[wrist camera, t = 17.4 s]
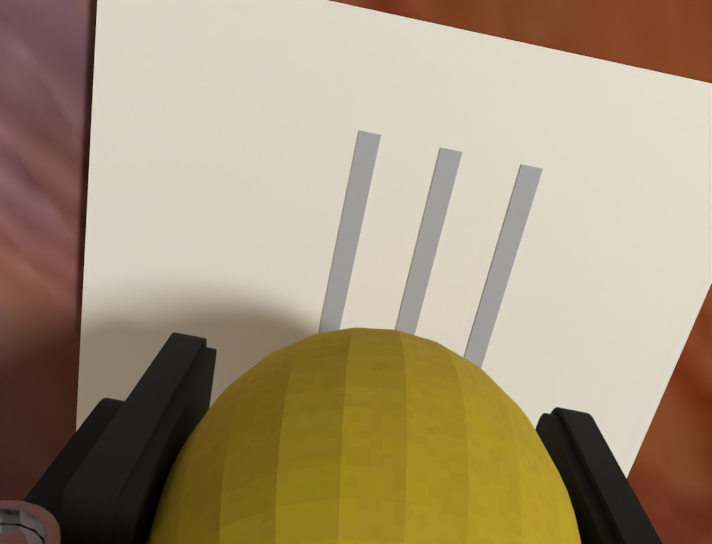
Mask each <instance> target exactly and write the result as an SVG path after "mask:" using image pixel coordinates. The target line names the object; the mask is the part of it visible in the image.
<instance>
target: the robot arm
mask: <svg viewBox="0 0 712 544" xmlns="http://www.w3.org/2000/svg"><path fill="white" fill-rule="evenodd" d="M216 355H217V350H216V349H214V348H209V347H207V340H206V338H202V337H197V336H191V335H186V334H181V333H176V332H173V333H172V334H171V335H170V337H169V338H168V340H167V341H166V343H165V344H164V346H163V347H162V348H161V350H160V351H159V353H158V354H157V356H156V357H155V358H154V360H153V361H152V363H151V364H150V366H149V367H148V369H147V370H146V371H145V373H144V374H143V376H142V377H141V379H140V380H139V382H138V383H137V384H136V386H135V387H134V389H133V390H132V392H131V393H130V394H129V396H128V397H127V399H126V400H125V401H122V400H117V399H111V398H104V399H102V400H101V401H100V402H99V403H98V404H97V405H96V406H95V408H94V409H93V410H92V412H91V413H90V414H89V416H88V417H87V418H86V420H85V421H84V422H83V423H82V425H81V426H80V427H79V429H78V430H77V431H76V433H75V434H74V435H73V437H72V438H71V439H70V440H69V442H68V443H67V444H66V446H65V447H64V448H63V450H62V451H61V452H60V454H59V455H58V456H57V458H56V459H55V460H54V461H53V463H52V464H51V465H50V467H49V468H48V469H47V471H46V472H45V473H44V475H43V476H42V477H41V478H40V480H39V481H38V482H37V484H36V485H35V486H34V488H33V489H32V490H31V492H30V493H29V494H28V496H27V497H26V498H25V499H24V501H14V500H1V501H0V544H145V543H146V540H147V537H148V533H149V530H150V527H151V524H152V520H153V517H154V514H155V511H156V508H157V505H158V502H159V499H160V496H161V493H162V490H163V487H164V484H165V482H166V479H167V477H168V474H169V472H170V469H171V467H172V465H173V463H174V461H175V459H176V457H177V455H178V453H179V451H180V450H181V448H182V446H183V445H184V443H185V442H186V440H187V439H188V438H189V436H190V435H191V433H192V432H193V430H194V429H195V428H196V426H197V425H198V424H199V422H200V421H201V420H202V418H203V417H204V416H205V414H206V413H207V411H208V410H209V406H210V399H211V392H212V385H213V377H214V370H215V363H216ZM535 430H536V432H537V434H538V436H539V437H540V439H541V441H542V443H543V445H544V446H545V448H546V450H547V452H548V454H549V455H550V457H551V459H552V461H553V463H554V464H555V466H556V468H557V470H558V472H559V474H560V476H561V478H562V480H563V483H564V485H565V487H566V489H567V491H568V495H569V498H570V501H571V504H572V507H573V510H574V513H575V517H576V522H577V526H578V530H579V535H580V540H581V544H662V542H661V540H660V539H659V537H658V535H657V533H656V531H655V530H654V528H653V526H652V524H651V522H650V520H649V519H648V517H647V515H646V513H645V511H644V510H643V508H642V506H641V504H640V502H639V500H638V499H637V497H636V495H635V493H634V491H633V490H632V488H631V486H630V484H629V482H628V481H627V479H626V477H625V475H624V473H623V471H622V470H621V468H620V466H619V464H618V462H617V461H616V459H615V457H614V455H613V453H612V451H611V450H610V448H609V446H608V444H607V442H606V441H605V439H604V437H603V435H602V433H601V432H600V430H599V428H598V426H597V424H596V422H595V421H594V419H593V417H592V416H591V415H590V414H589V413H585V412H580V411H575V410H570V409H565V408H560V407H556V408H554V409H553V410H552V412H551V414H548V413H543V414H542V415H541V416H540V419H539V421H538V423H537V426H536V429H535Z"/></svg>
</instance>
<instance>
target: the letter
mask: <svg viewBox="0 0 712 544" xmlns="http://www.w3.org/2000/svg"><path fill="white" fill-rule="evenodd" d="M711 283H712V84H711V83H707V82H702V81H697V80H693V79H688V78H683V77H679V76H674V75H670V74H665V73H660V72H656V71H651V70H647V69H642V68H637V67H633V66H628V65H623V64H619V63H614V62H610V61H605V60H600V59H596V58H591V57H587V56H582V55H577V54H573V53H568V52H564V51H559V50H554V49H550V48H545V47H540V46H536V45H531V44H527V43H522V42H517V41H513V40H508V39H504V38H499V37H494V36H490V35H485V34H480V33H476V32H471V31H467V30H462V29H457V28H453V27H448V26H444V25H439V24H434V23H430V22H425V21H420V20H416V19H411V18H407V17H402V16H397V15H393V14H388V13H384V12H379V11H374V10H370V9H365V8H361V7H356V6H351V5H347V4H342V3H337V2H333V1H328V0H97V17H96V37H95V58H94V78H93V98H92V118H91V138H90V158H89V178H88V198H87V218H86V238H85V258H84V279H83V299H82V319H81V339H80V359H79V379H78V399H77V419H76V431H77V430H78V429H79V427H80V426H81V425H82V423H83V422H84V421H85V420H86V418H87V417H88V416H89V414H90V413H91V412H92V410H93V409H94V408H95V406H96V405H97V404H98V403H99V402H100V401H101V400H102V399H104V398H111V399H117V400H122V401H125V400H126V399H127V397H128V396H129V394H130V393H131V392H132V390H133V389H134V387H135V386H136V384H137V383H138V382H139V380H140V379H141V377H142V376H143V374H144V373H145V371H146V370H147V369H148V367H149V366H150V364H151V363H152V361H153V360H154V358H155V357H156V356H157V354H158V353H159V351H160V350H161V348H162V347H163V346H164V344H165V343H166V341H167V340H168V338H169V337H170V335H171V334H172V333H173V332H176V333H181V334H186V335H191V336H197V337H202V338H206V340H207V347H209V348H214V349H216V350H217V355H216V363H215V370H214V377H213V385H212V392H211V399H210V406H209V409H210V407H211V406H212V405H213V403H214V402H215V401H216V399H217V398H218V397H219V396H220V395H221V394H222V392H223V391H224V390H225V389H226V388H227V387H228V386H229V385H230V384H232V383H233V382H234V381H235V380H237V379H238V378H239V377H240V376H242V375H243V374H244V373H245V372H247V371H248V370H249V369H251V368H252V367H253V366H254V365H256V364H257V363H258V362H260V361H261V360H262V359H263V358H265V357H266V356H267V355H269V354H270V353H272V352H275V351H277V350H279V349H281V348H284V347H286V346H288V345H291V344H293V343H295V342H297V341H300V340H302V339H304V338H307V337H309V336H311V335H314V334H318V333H324V332H330V331H336V330H342V329H348V328H354V327H357V328H374V329H390V330H398V331H402V332H405V333H409V334H412V335H415V336H419V337H422V338H426V339H429V340H432V341H436V342H437V343H439V344H441V345H443V346H445V347H446V348H448V349H450V350H452V351H453V352H455V353H457V354H458V355H460V356H462V357H463V358H465V359H467V360H469V361H470V362H472V363H474V364H475V365H477V366H479V367H480V368H481V369H482V370H483V371H484V372H485V373H486V374H487V375H488V376H489V377H490V378H491V379H492V380H493V381H494V382H495V383H496V384H497V385H498V386H499V387H500V388H501V389H502V390H503V391H504V392H505V393H506V394H507V395H508V396H509V397H510V398H511V399H512V400H513V401H514V402H515V403H516V404H517V405H518V406H519V407H520V408H521V410H522V411H523V412H524V413H525V415H526V416H527V417H528V419H529V420H530V422H531V424H532V425H533V427H534V429H536V426H537V423H538V421H539V419H540V416H541V415H542V414H543V413H548V414H551V412H552V410H553V409H554V408H556V407H560V408H565V409H570V410H575V411H580V412H585V413H589V414H590V415H591V416H592V417H593V419H594V421H595V422H596V424H597V426H598V428H599V430H600V432H601V433H602V435H603V437H604V439H605V441H606V442H607V444H608V446H609V448H610V450H611V451H612V453H613V455H614V457H615V459H616V461H617V462H618V464H619V466H620V468H621V470H622V471H623V473H624V475H625V477H626V478H627V476H628V474H629V472H630V469H631V467H632V465H633V462H634V460H635V458H636V455H637V453H638V451H639V449H640V446H641V444H642V442H643V439H644V437H645V435H646V432H647V430H648V428H649V426H650V423H651V421H652V419H653V416H654V414H655V412H656V409H657V407H658V405H659V403H660V400H661V398H662V396H663V393H664V391H665V389H666V386H667V384H668V382H669V380H670V377H671V375H672V373H673V370H674V368H675V366H676V363H677V361H678V359H679V357H680V354H681V352H682V350H683V347H684V345H685V343H686V340H687V338H688V336H689V334H690V331H691V329H692V327H693V324H694V322H695V320H696V317H697V315H698V313H699V311H700V308H701V306H702V304H703V301H704V299H705V297H706V294H707V292H708V290H709V288H710V285H711Z"/></svg>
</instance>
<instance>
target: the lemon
mask: <svg viewBox="0 0 712 544" xmlns="http://www.w3.org/2000/svg"><path fill="white" fill-rule="evenodd" d="M145 544H581V540H580V535H579V530H578V526H577V522H576V517H575V513H574V510H573V507H572V504H571V501H570V498H569V495H568V491H567V489H566V487H565V485H564V483H563V480H562V478H561V476H560V474H559V472H558V470H557V468H556V466H555V464H554V463H553V461H552V459H551V457H550V455H549V454H548V452H547V450H546V448H545V446H544V445H543V443H542V441H541V439H540V437H539V436H538V434H537V432H536V430H535V429H534V427H533V425H532V424H531V422H530V420H529V419H528V417H527V416H526V415H525V413H524V412H523V411H522V410H521V408H520V407H519V406H518V405H517V404H516V403H515V402H514V401H513V400H512V399H511V398H510V397H509V396H508V395H507V394H506V393H505V392H504V391H503V390H502V389H501V388H500V387H499V386H498V385H497V384H496V383H495V382H494V381H493V380H492V379H491V378H490V377H489V376H488V375H487V374H486V373H485V372H484V371H483V370H482V369H481V368H480V367H479V366H477V365H475V364H474V363H472V362H470V361H469V360H467V359H465V358H463V357H462V356H460V355H458V354H457V353H455V352H453V351H452V350H450V349H448V348H446V347H445V346H443V345H441V344H439V343H437V342H436V341H432V340H429V339H426V338H422V337H419V336H415V335H412V334H409V333H405V332H402V331H398V330H390V329H374V328H357V327H354V328H348V329H342V330H336V331H330V332H324V333H318V334H314V335H311V336H309V337H307V338H304V339H302V340H300V341H297V342H295V343H293V344H291V345H288V346H286V347H284V348H281V349H279V350H277V351H275V352H272V353H270V354H269V355H267V356H266V357H265V358H263V359H262V360H261V361H260V362H258V363H257V364H256V365H254V366H253V367H252V368H251V369H249V370H248V371H247V372H245V373H244V374H243V375H242V376H240V377H239V378H238V379H237V380H235V381H234V382H233V383H232V384H230V385H229V386H228V387H227V388H226V389H225V390H224V391H223V392H222V394H221V395H220V396H219V397H218V398H217V399H216V401H215V402H214V403H213V405H212V406H211V407H210V409H209V410H208V411H207V413H206V414H205V416H204V417H203V418H202V420H201V421H200V422H199V424H198V425H197V426H196V428H195V429H194V430H193V432H192V433H191V435H190V436H189V438H188V439H187V440H186V442H185V443H184V445H183V446H182V448H181V450H180V451H179V453H178V455H177V457H176V459H175V461H174V463H173V465H172V467H171V469H170V472H169V474H168V477H167V479H166V482H165V484H164V487H163V490H162V493H161V496H160V499H159V502H158V505H157V508H156V511H155V514H154V517H153V520H152V524H151V527H150V530H149V533H148V537H147V540H146V543H145Z"/></svg>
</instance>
